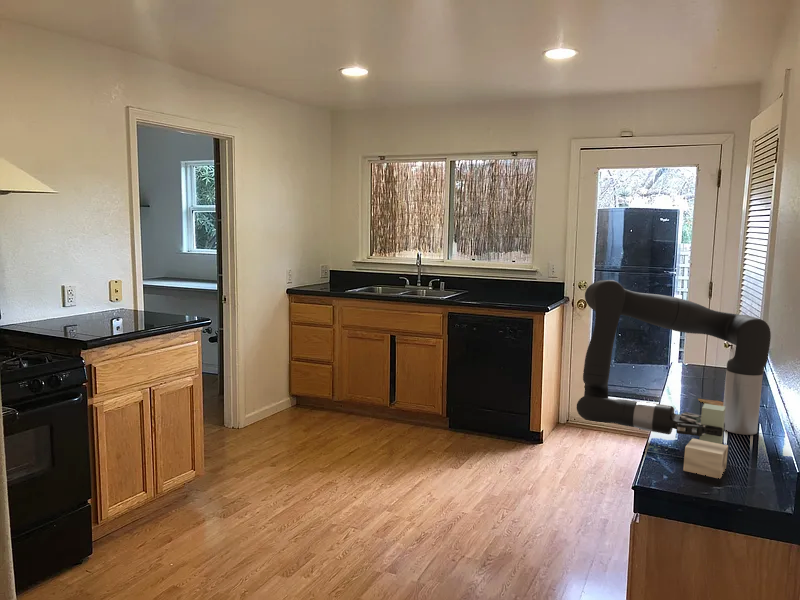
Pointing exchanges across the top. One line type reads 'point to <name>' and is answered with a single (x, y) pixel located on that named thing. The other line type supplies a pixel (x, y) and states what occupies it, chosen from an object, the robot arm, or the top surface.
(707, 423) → the sage block
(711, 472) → the birch base block
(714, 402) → the shard
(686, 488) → the top surface
